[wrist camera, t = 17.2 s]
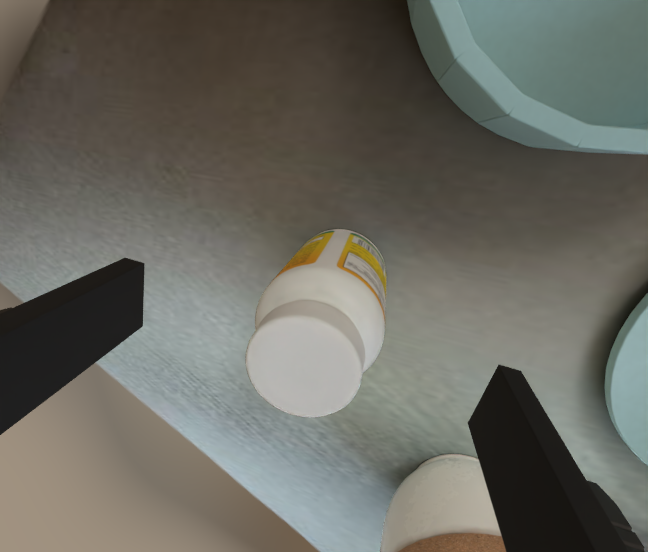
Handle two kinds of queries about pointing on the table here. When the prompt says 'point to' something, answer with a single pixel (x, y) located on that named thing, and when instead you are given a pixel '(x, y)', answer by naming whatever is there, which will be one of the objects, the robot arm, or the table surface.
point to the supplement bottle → (319, 325)
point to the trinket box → (442, 510)
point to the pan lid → (630, 381)
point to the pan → (543, 68)
